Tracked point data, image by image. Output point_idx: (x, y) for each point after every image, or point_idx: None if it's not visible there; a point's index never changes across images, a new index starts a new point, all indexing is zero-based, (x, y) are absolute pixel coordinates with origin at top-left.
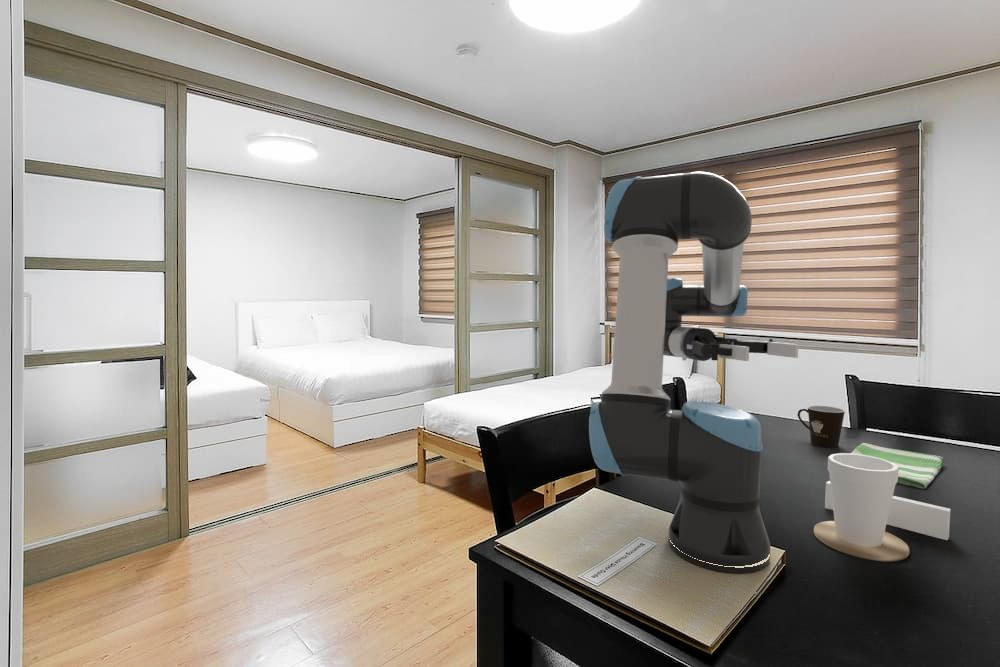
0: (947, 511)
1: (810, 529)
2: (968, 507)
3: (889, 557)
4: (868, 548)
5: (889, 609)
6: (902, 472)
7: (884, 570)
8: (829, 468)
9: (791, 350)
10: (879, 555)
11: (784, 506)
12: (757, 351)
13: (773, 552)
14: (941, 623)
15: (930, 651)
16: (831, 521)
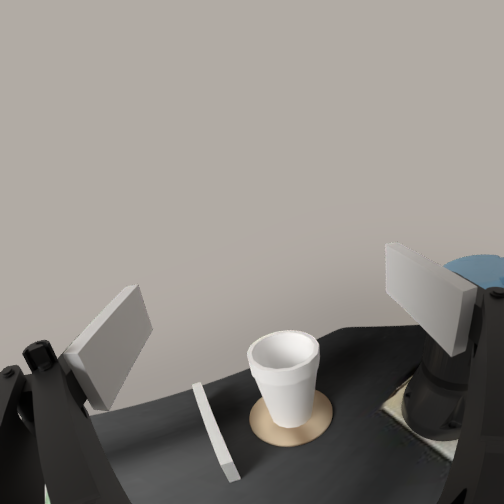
0: (200, 383)
1: (319, 440)
2: (102, 423)
3: None
4: None
5: (359, 350)
6: None
7: (319, 380)
8: (314, 368)
9: (139, 315)
10: None
11: (292, 495)
12: (97, 441)
13: (395, 403)
14: (340, 342)
15: (367, 329)
16: (282, 443)
